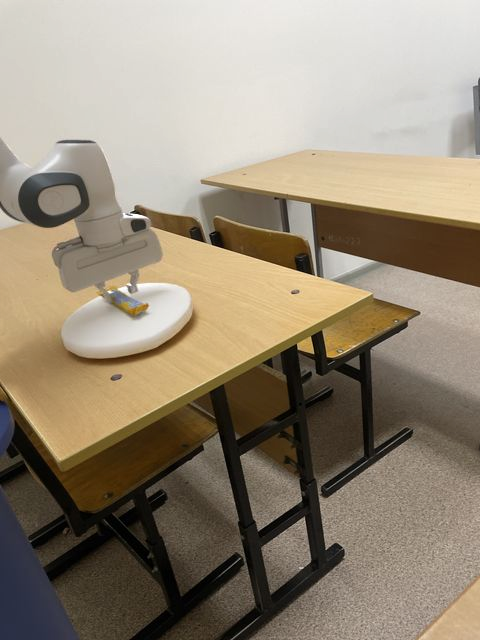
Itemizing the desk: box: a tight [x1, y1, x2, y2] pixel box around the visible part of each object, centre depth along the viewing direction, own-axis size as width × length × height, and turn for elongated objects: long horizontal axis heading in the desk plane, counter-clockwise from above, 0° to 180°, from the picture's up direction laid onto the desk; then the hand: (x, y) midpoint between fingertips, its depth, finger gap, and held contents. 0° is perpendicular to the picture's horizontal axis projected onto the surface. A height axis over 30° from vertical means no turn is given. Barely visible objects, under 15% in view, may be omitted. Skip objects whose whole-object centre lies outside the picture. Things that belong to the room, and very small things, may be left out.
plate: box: [60, 282, 194, 359], centre depth 108 cm, size 28×6×27 cm
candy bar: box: [96, 285, 149, 316], centre depth 106 cm, size 17×4×2 cm, turn 39°
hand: (122, 296), depth 106 cm, fingers closed on candy bar, 3 cm apart
